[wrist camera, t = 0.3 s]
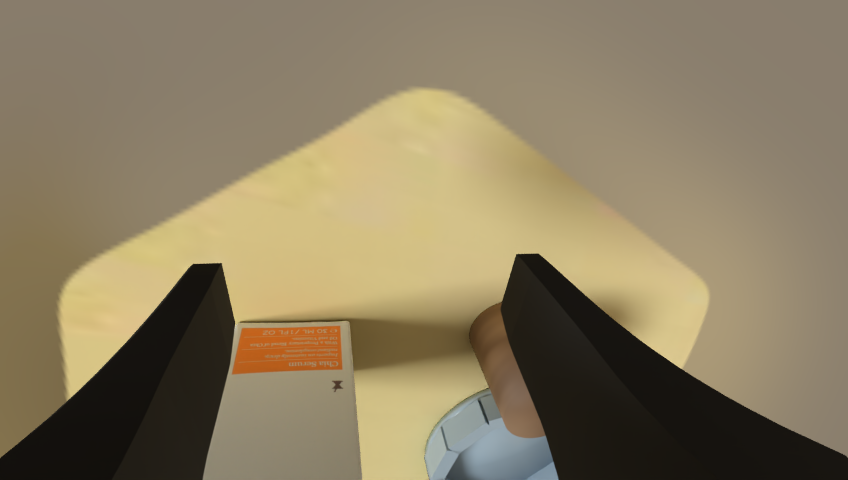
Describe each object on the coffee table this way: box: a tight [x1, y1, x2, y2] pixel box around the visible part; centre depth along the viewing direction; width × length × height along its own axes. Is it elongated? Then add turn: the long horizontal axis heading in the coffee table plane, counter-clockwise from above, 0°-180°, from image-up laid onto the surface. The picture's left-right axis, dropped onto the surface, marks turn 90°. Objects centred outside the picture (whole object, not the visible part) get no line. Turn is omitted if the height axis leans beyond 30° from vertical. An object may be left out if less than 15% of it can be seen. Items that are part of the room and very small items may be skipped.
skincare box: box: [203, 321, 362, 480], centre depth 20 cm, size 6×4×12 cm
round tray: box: [424, 388, 559, 480], centre depth 32 cm, size 12×12×2 cm
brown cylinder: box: [469, 302, 546, 438], centre depth 25 cm, size 4×4×6 cm
